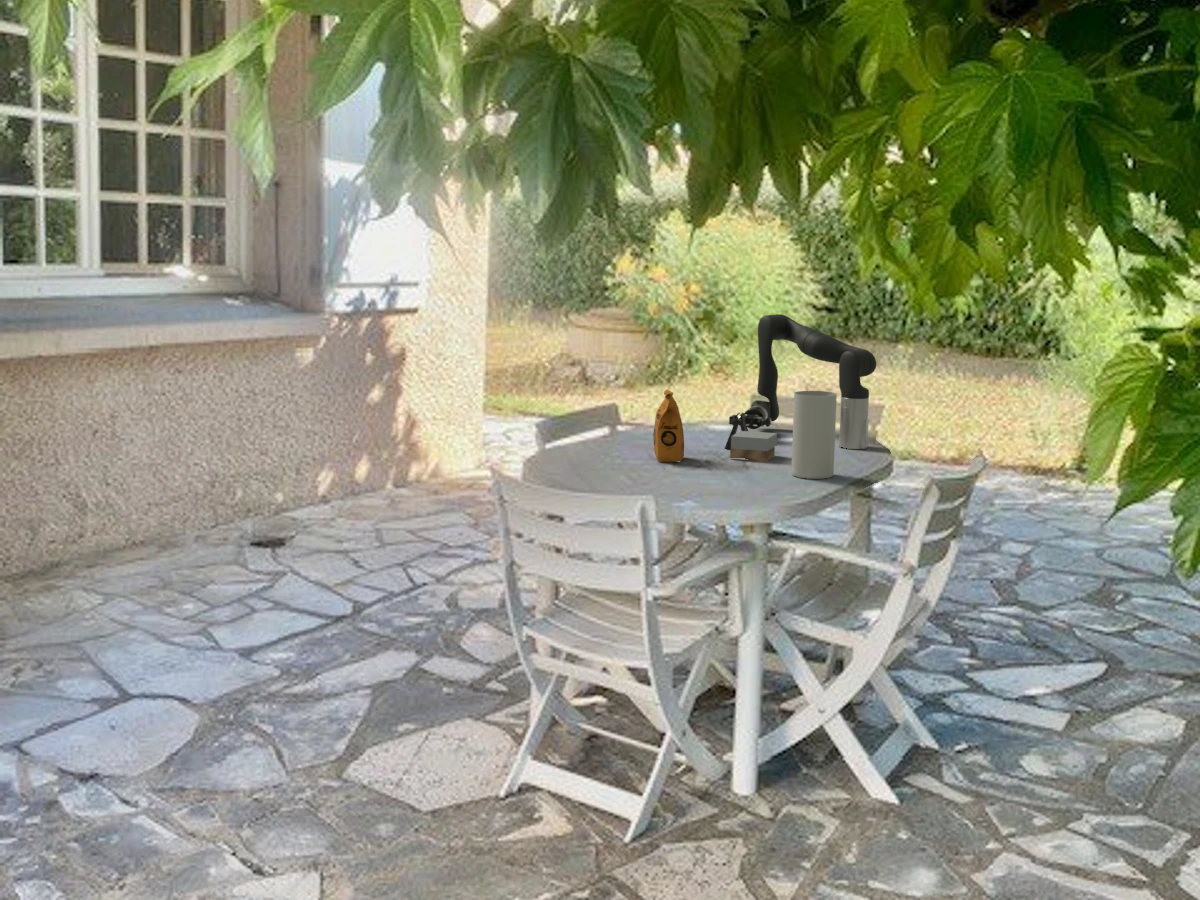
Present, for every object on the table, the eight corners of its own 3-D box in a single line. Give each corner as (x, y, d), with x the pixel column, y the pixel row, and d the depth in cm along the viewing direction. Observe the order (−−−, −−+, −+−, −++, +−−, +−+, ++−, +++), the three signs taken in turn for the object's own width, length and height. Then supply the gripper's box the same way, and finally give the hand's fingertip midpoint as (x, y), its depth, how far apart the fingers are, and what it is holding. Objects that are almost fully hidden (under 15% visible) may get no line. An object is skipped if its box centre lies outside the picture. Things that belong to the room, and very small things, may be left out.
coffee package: (652, 462, 398) (653, 393, 394) (653, 455, 410) (654, 388, 406) (684, 463, 397) (685, 394, 393) (683, 456, 409) (685, 389, 405)
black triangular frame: (724, 449, 423) (725, 414, 420) (727, 446, 428) (728, 411, 426) (751, 450, 420) (752, 415, 418) (753, 447, 426) (754, 412, 424)
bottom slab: (774, 456, 412) (774, 444, 411) (766, 463, 400) (767, 450, 400) (738, 454, 415) (738, 442, 415) (730, 460, 404) (730, 448, 404)
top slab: (776, 445, 410) (777, 433, 410) (767, 451, 399) (767, 438, 399) (741, 442, 415) (741, 430, 414) (730, 448, 404) (731, 436, 403)
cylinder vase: (829, 481, 370) (832, 397, 366) (787, 477, 375) (790, 394, 370) (836, 473, 382) (840, 391, 377) (796, 470, 386) (798, 389, 382)
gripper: (736, 405, 450) (726, 411, 435) (775, 407, 446) (766, 414, 431) (735, 426, 452) (725, 433, 436) (775, 428, 447) (766, 435, 432)
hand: (746, 423), depth 434 cm, fingers open, 8 cm apart
